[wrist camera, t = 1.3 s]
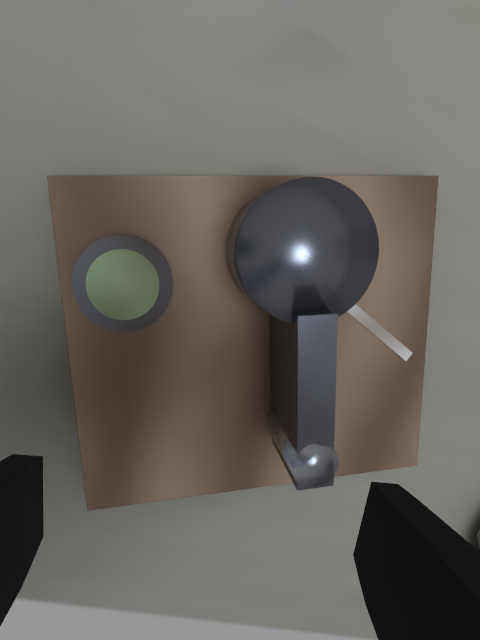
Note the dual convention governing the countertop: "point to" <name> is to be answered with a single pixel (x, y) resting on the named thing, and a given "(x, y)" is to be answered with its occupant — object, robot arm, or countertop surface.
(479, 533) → the salt shaker
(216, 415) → the tribrach board
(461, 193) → the countertop surface
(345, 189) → the knob
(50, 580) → the countertop surface
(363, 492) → the countertop surface
